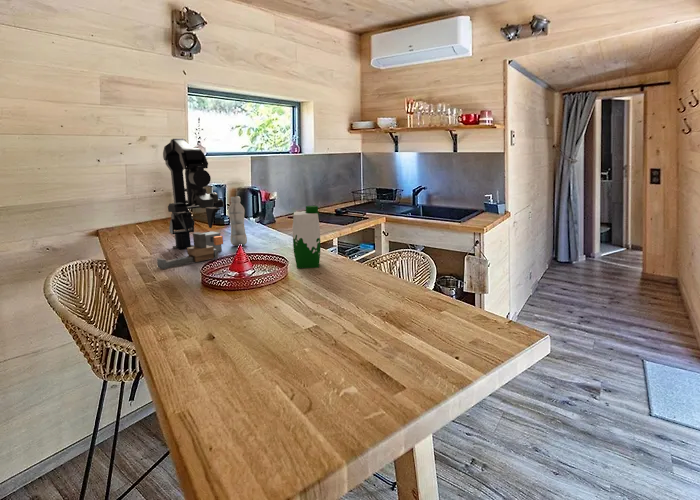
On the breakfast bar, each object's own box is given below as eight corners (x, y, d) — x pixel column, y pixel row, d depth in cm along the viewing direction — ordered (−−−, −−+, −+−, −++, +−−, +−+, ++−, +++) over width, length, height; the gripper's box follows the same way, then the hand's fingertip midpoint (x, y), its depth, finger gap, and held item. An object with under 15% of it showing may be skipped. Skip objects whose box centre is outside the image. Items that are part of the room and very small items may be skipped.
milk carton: (321, 268, 154) (319, 207, 149) (293, 269, 153) (290, 208, 149) (320, 261, 162) (318, 204, 158) (294, 263, 162) (291, 205, 157)
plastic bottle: (243, 247, 189) (240, 198, 184) (228, 247, 190) (224, 198, 186) (250, 244, 195) (246, 196, 190) (234, 244, 196) (231, 196, 192)
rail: (157, 267, 159) (156, 258, 159) (211, 256, 174) (211, 248, 174) (163, 269, 157) (162, 260, 156) (217, 257, 172) (217, 249, 171)
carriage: (188, 259, 169) (185, 234, 167) (205, 256, 174) (203, 231, 172) (196, 262, 165) (194, 235, 163) (214, 258, 170) (212, 233, 168)
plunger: (206, 243, 181) (205, 235, 181) (213, 241, 184) (212, 234, 183) (216, 245, 177) (215, 237, 176) (223, 244, 179) (222, 236, 178)
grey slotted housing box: (197, 251, 183) (196, 234, 182) (213, 248, 188) (212, 231, 187) (205, 253, 179) (204, 235, 178) (221, 250, 184) (220, 233, 183)
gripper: (181, 188, 151) (186, 235, 155) (230, 184, 165) (234, 228, 168) (164, 187, 159) (169, 232, 162) (213, 183, 172) (217, 225, 175)
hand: (198, 229), depth 167 cm, fingers open, 9 cm apart
